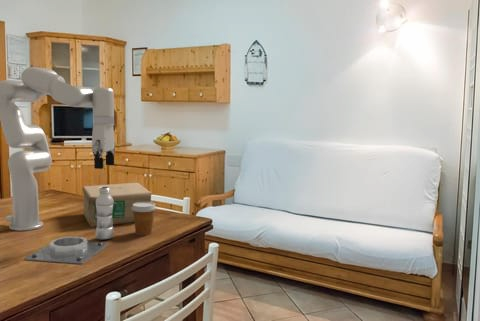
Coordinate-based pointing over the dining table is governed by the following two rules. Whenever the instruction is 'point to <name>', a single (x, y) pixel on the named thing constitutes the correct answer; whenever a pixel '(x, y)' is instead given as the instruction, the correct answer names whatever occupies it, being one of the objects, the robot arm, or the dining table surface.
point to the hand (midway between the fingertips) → (104, 166)
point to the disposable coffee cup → (143, 217)
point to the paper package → (115, 201)
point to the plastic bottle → (104, 214)
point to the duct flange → (67, 250)
